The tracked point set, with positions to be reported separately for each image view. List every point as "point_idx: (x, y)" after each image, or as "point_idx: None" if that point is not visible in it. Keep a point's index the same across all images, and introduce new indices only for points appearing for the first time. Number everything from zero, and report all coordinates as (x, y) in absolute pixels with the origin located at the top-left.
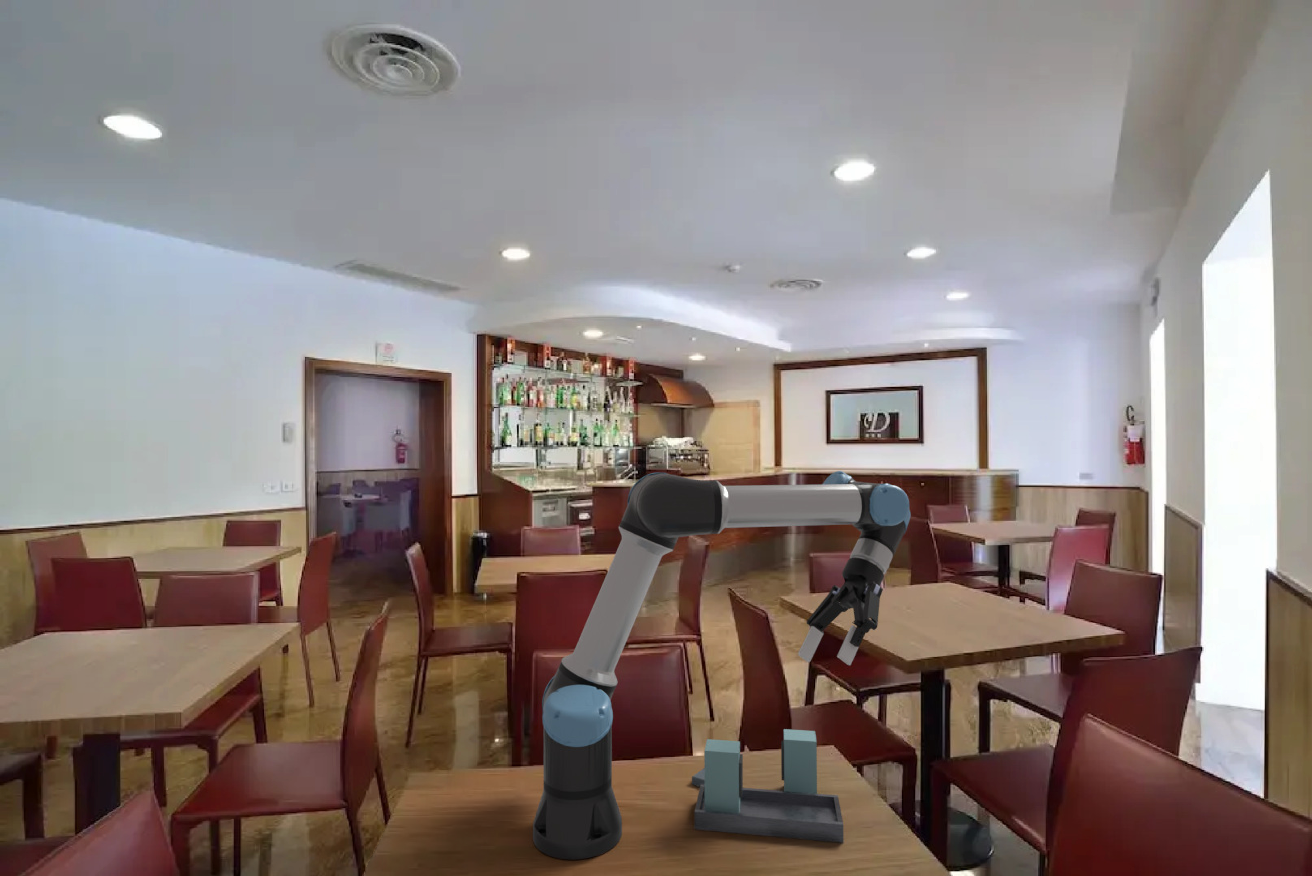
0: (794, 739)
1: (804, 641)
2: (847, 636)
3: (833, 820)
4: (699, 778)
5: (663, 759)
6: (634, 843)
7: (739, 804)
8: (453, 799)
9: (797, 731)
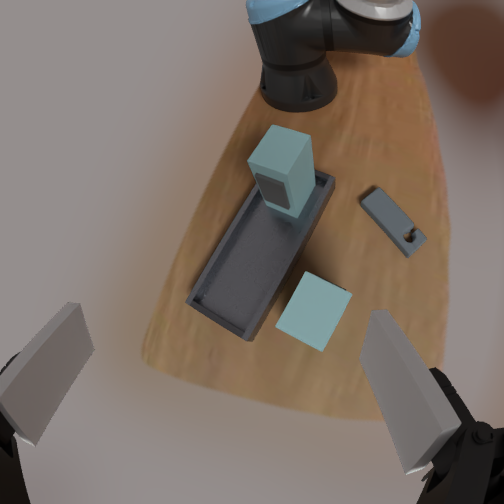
0: (298, 290)
1: (411, 352)
2: (24, 356)
3: (216, 310)
4: (372, 193)
5: (443, 182)
6: (272, 119)
7: (279, 208)
8: None
9: (332, 315)
